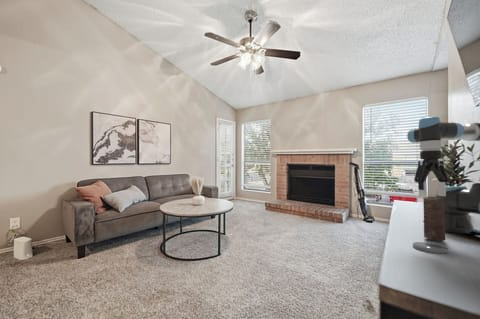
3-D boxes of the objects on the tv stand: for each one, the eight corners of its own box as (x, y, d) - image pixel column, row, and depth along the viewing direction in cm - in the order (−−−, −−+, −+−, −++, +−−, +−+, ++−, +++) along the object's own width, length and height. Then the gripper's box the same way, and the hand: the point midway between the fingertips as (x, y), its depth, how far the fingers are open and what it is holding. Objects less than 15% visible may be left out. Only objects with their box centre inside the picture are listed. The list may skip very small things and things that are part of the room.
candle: (450, 243, 95) (448, 197, 96) (431, 242, 97) (428, 197, 98) (438, 238, 103) (436, 195, 104) (420, 237, 104) (418, 195, 105)
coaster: (423, 243, 96) (423, 240, 96) (455, 251, 86) (455, 249, 86) (406, 246, 93) (406, 243, 93) (437, 255, 82) (437, 253, 82)
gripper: (437, 151, 109) (440, 194, 108) (403, 150, 101) (405, 196, 100) (456, 150, 102) (459, 196, 101) (421, 149, 94) (423, 198, 93)
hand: (432, 196), depth 100 cm, fingers open, 13 cm apart
